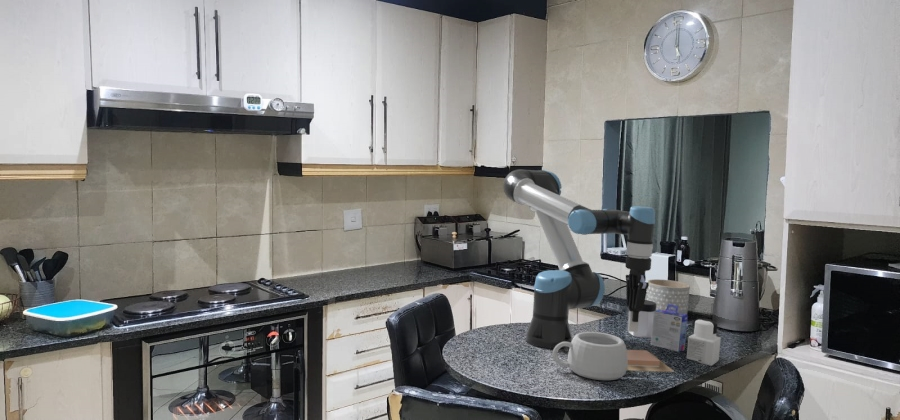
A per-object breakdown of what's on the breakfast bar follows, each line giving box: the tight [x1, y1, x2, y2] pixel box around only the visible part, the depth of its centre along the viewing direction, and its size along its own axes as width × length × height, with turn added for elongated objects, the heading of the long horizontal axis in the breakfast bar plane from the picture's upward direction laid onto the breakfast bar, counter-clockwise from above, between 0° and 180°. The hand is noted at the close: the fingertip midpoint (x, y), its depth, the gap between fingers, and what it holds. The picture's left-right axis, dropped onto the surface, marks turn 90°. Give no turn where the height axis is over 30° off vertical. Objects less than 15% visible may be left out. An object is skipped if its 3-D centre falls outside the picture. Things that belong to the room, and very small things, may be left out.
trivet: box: [626, 351, 675, 373], centre depth 185 cm, size 16×18×1 cm
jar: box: [628, 299, 656, 339], centre depth 217 cm, size 9×8×12 cm
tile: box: [627, 349, 660, 367], centre depth 185 cm, size 10×2×10 cm
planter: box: [645, 279, 691, 315], centre depth 252 cm, size 16×16×13 cm
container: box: [686, 318, 722, 367], centre depth 191 cm, size 8×8×13 cm
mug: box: [552, 331, 628, 381], centre depth 174 cm, size 21×17×10 cm
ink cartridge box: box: [650, 304, 689, 352], centre depth 202 cm, size 10×6×14 cm, turn 49°
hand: (632, 330), depth 190 cm, fingers closed
